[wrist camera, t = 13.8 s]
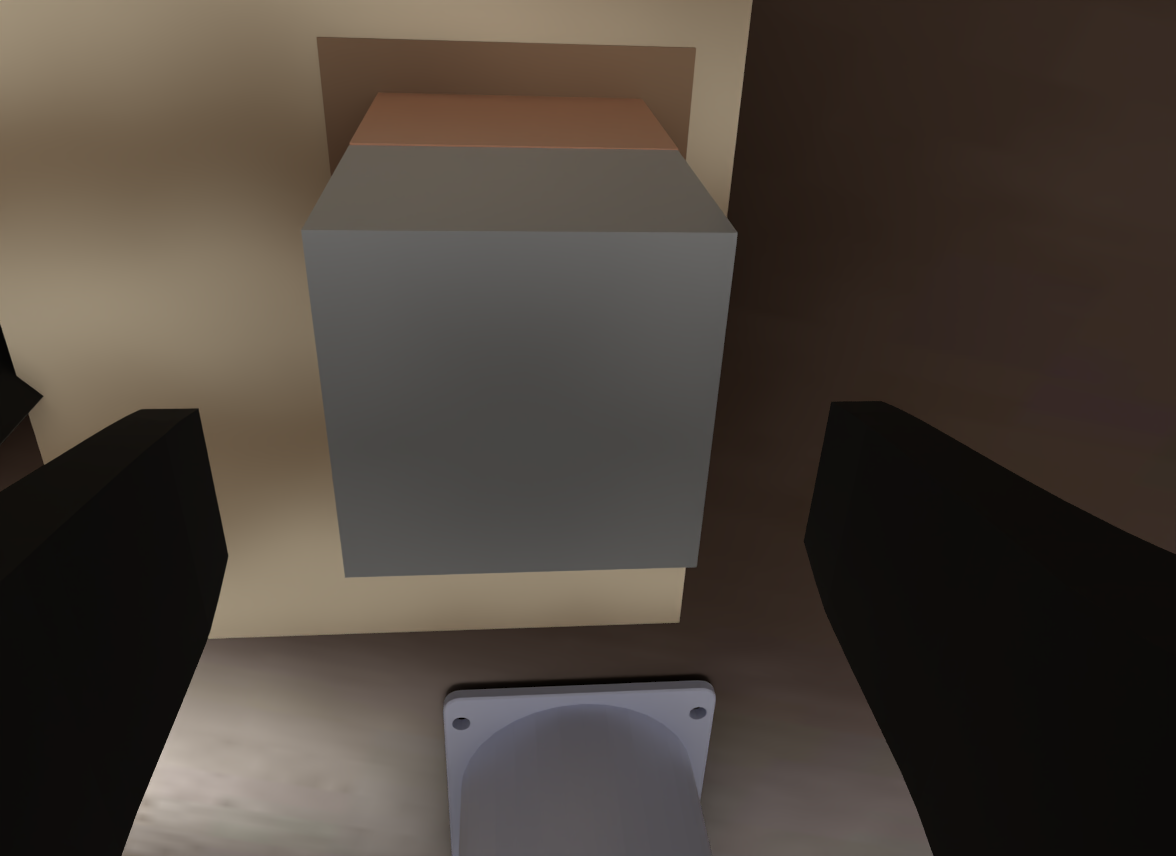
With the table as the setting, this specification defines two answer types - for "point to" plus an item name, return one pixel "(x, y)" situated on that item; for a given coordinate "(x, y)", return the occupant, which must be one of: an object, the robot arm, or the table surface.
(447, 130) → the terracotta brick
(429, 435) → the grey brick
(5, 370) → the book
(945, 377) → the table surface
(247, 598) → the board
